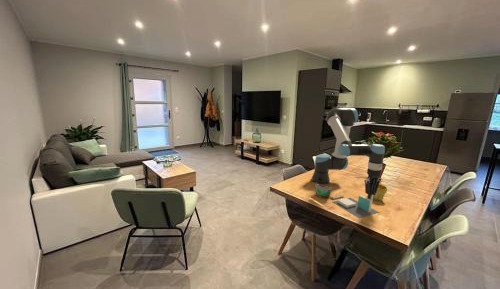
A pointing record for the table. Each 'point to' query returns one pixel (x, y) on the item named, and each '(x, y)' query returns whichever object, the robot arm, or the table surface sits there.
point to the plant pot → (380, 193)
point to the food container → (322, 191)
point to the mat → (356, 209)
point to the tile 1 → (346, 203)
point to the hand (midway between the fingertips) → (369, 203)
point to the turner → (337, 197)
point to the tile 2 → (364, 203)
